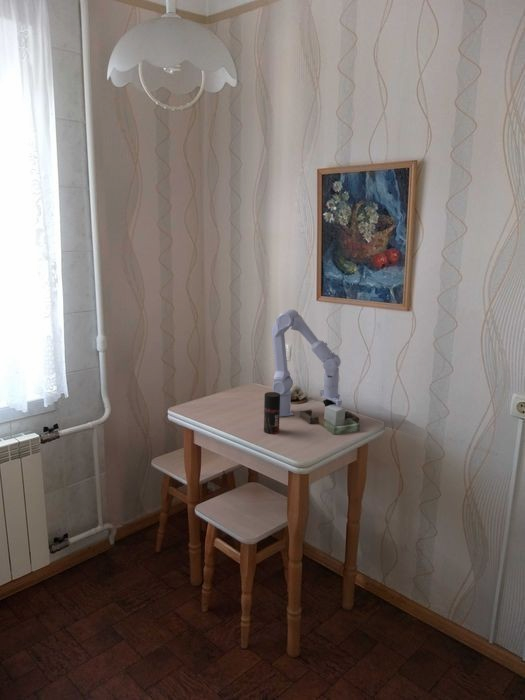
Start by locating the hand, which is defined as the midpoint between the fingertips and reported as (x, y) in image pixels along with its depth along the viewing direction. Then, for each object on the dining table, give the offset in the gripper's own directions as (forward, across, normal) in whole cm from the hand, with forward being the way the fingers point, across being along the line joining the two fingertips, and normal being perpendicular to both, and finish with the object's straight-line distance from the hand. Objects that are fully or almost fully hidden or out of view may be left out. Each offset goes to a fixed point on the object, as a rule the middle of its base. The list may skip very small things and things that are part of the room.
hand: (329, 416), depth 222 cm
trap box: (+2, -3, 0) cm, 3 cm away
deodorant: (+2, -3, +27) cm, 27 cm away
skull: (+2, +29, +2) cm, 29 cm away
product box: (+2, -5, +1) cm, 5 cm away
